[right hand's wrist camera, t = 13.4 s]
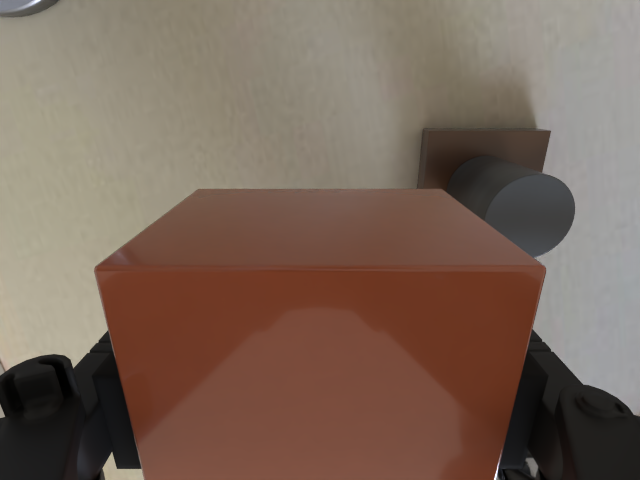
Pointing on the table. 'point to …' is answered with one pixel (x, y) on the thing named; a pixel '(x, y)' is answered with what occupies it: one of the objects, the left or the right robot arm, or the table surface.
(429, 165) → the walnut stand
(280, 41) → the table surface
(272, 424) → the terracotta cap
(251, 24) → the table surface
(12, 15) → the right robot arm
